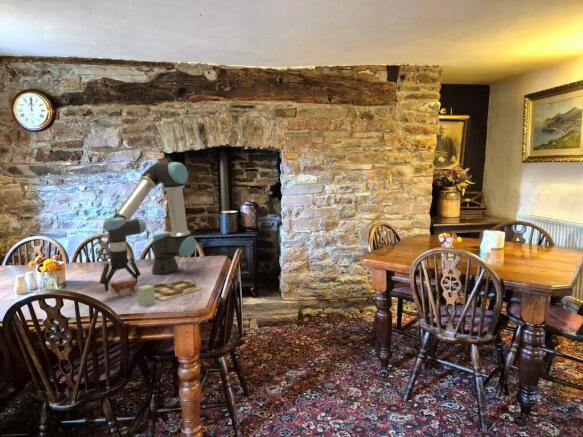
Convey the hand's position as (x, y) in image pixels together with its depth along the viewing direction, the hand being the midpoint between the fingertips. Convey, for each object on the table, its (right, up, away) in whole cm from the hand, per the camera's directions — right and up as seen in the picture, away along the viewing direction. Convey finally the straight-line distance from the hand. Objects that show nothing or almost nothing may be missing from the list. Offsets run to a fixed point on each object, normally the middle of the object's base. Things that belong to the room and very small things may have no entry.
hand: (122, 293), depth 191 cm
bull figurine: (0, -1, 0) cm, 1 cm away
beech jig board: (+22, 0, +6) cm, 23 cm away
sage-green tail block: (+16, -2, -11) cm, 20 cm away
